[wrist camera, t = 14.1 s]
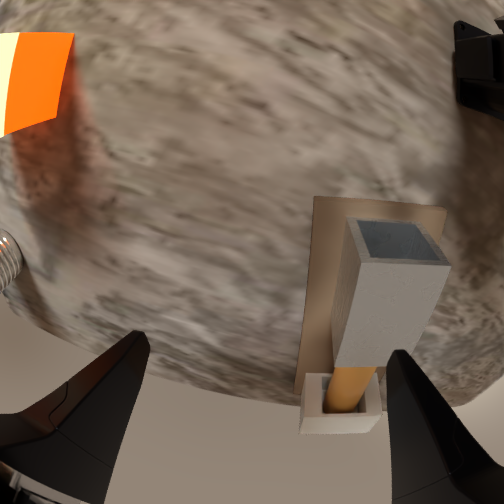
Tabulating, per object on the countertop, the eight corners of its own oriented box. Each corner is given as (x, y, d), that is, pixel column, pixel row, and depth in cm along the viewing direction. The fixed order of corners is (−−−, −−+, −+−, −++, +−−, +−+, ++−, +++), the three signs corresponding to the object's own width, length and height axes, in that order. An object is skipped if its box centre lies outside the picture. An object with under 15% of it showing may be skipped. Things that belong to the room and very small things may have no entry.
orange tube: (387, 310, 20) (396, 344, 18) (353, 391, 27) (355, 418, 24) (345, 310, 21) (350, 345, 18) (322, 391, 28) (322, 419, 25)
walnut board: (443, 207, 17) (447, 211, 16) (371, 388, 30) (372, 393, 29) (313, 196, 18) (314, 200, 18) (293, 388, 31) (293, 394, 30)
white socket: (376, 372, 26) (382, 414, 22) (365, 394, 29) (368, 432, 25) (305, 372, 28) (303, 416, 23) (301, 394, 30) (298, 433, 26)
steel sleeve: (420, 221, 17) (451, 266, 13) (391, 315, 22) (404, 365, 17) (346, 216, 18) (361, 262, 13) (330, 314, 23) (334, 367, 18)
